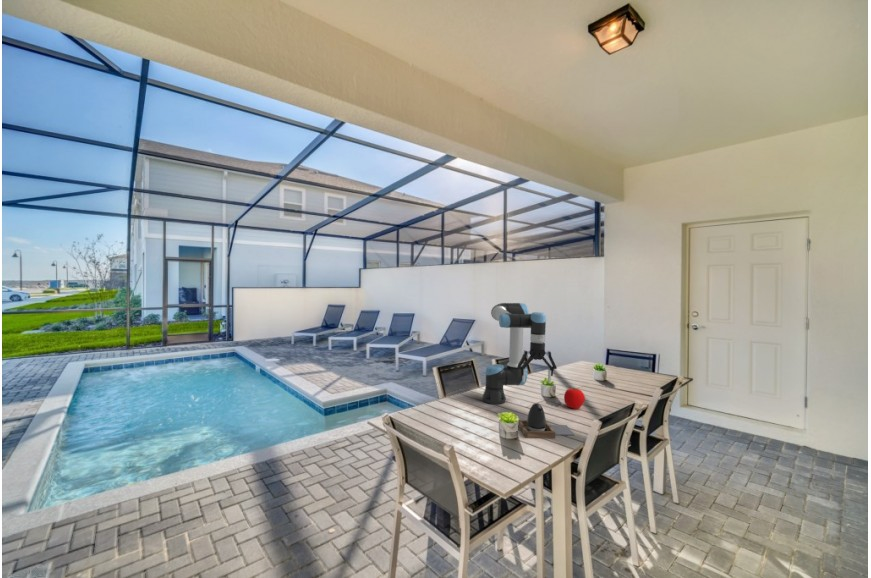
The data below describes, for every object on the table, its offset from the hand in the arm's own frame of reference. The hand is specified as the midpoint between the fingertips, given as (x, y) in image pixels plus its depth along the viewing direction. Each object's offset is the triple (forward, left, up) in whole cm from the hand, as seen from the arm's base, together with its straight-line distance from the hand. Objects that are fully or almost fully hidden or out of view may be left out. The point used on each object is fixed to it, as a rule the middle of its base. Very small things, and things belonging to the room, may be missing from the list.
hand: (536, 381), depth 199 cm
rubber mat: (-3, +14, -27) cm, 31 cm away
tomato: (-38, +35, -27) cm, 58 cm away
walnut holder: (-1, +1, -27) cm, 27 cm away
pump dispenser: (-1, +1, -27) cm, 27 cm away
